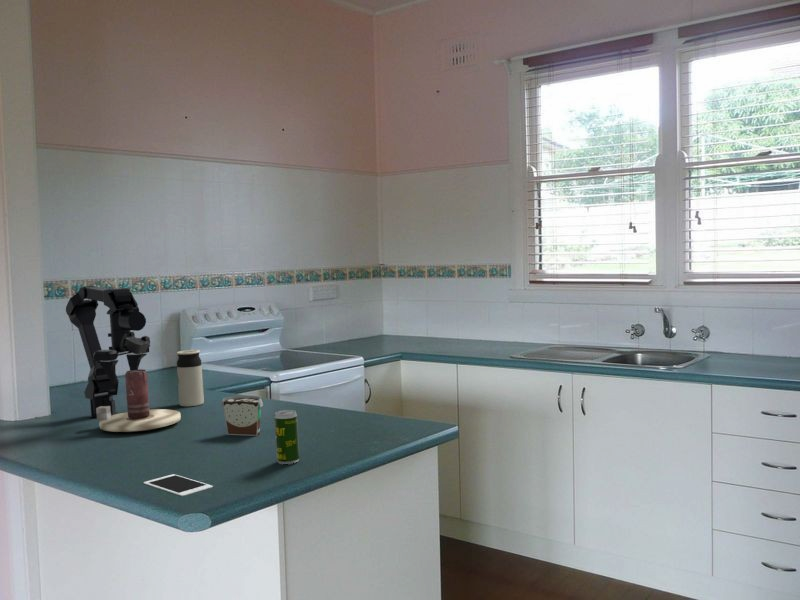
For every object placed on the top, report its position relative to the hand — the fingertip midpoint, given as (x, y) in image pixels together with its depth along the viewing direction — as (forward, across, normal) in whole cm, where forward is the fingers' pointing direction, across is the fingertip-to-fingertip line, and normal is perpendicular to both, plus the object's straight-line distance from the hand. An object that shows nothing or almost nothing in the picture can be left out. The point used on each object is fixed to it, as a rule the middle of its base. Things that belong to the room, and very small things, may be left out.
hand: (123, 379), depth 244 cm
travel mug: (+13, +26, -5) cm, 29 cm away
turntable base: (+13, -5, -10) cm, 17 cm away
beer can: (+12, -30, -74) cm, 81 cm away
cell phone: (+13, -52, -59) cm, 80 cm away
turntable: (+12, -6, -10) cm, 16 cm away
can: (+10, -6, -10) cm, 15 cm away
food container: (+13, -6, -47) cm, 49 cm away
